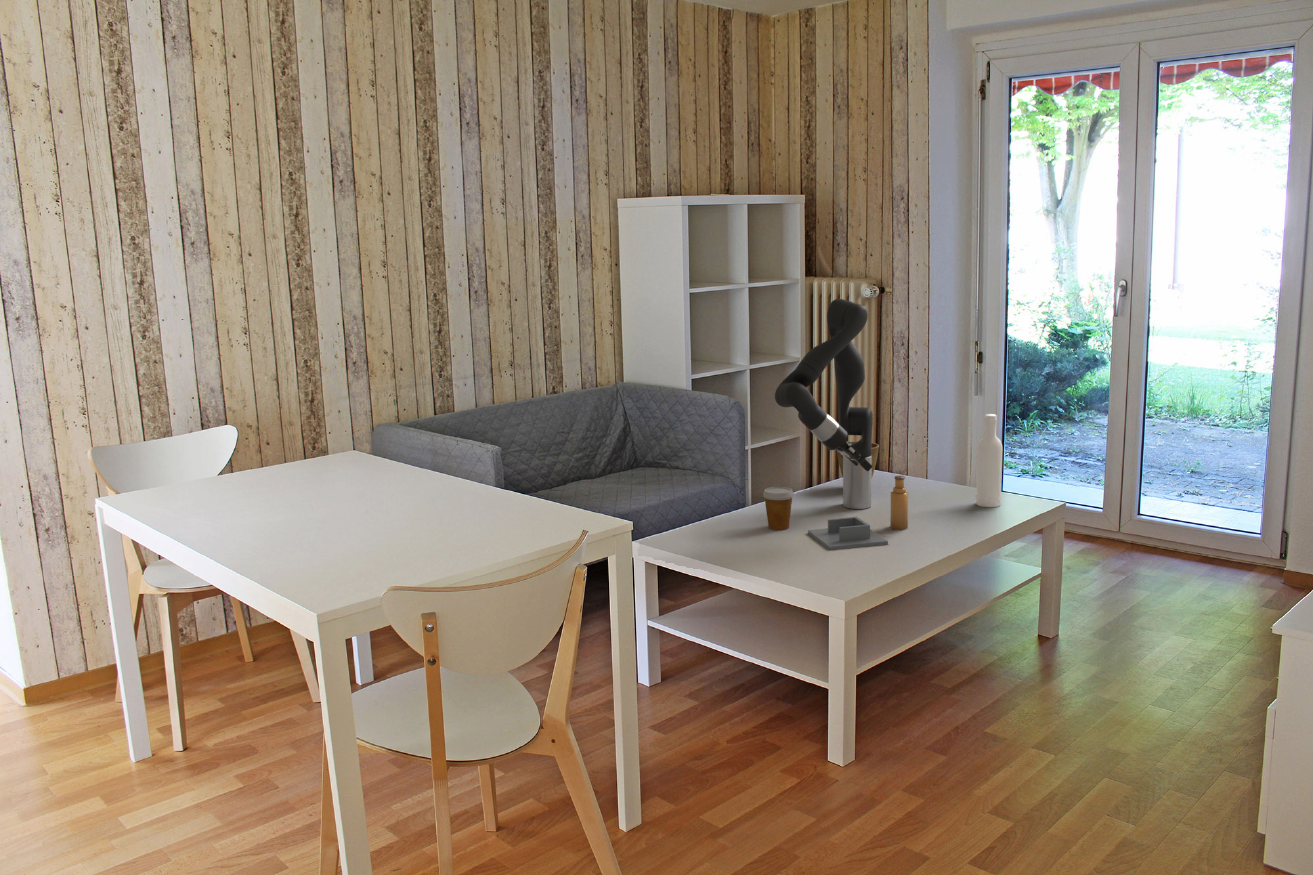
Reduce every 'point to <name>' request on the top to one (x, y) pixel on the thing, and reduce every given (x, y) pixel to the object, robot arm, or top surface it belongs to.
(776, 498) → the disposable coffee cup
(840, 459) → the plant pot
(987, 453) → the bottle
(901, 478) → the bottle
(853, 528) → the u rest
